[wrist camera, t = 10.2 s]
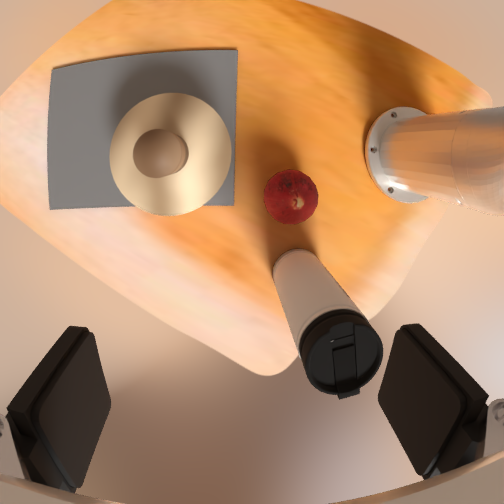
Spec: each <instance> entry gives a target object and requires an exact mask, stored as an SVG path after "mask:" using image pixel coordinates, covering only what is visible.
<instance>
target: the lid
mask: <svg viewBox="0 0 504 504" xmlns="http://www.w3.org/2000/svg"><path fill="white" fill-rule="evenodd" d="M109 158H110V168H111V172H112V175H113V178H114V181H115V183H116V185H117V187H118V188H119V190H120V191H121V193H122V194H123V195H124V196H125V198H126V199H127V200H128V201H130V202H131V203H132V204H133V205H135V206H136V207H138V208H139V209H141V210H143V211H145V212H148V213H151V214H155V215H161V216H175V215H181V214H185V213H188V212H191V211H193V210H195V209H197V208H199V207H201V206H202V205H204V204H205V203H207V202H208V201H209V200H210V199H211V198H212V197H213V196H214V195H215V194H216V193H217V192H218V190H219V189H220V187H221V186H222V184H223V182H224V180H225V179H226V176H227V174H228V171H229V167H230V163H231V141H230V136H229V133H228V130H227V128H226V126H225V124H224V122H223V120H222V119H221V117H220V116H219V114H218V113H217V112H216V111H215V110H214V109H213V108H212V107H211V106H209V105H208V104H207V103H205V102H204V101H202V100H200V99H198V98H196V97H194V96H191V95H187V94H182V93H164V94H159V95H155V96H152V97H149V98H147V99H145V100H143V101H141V102H140V103H138V104H137V105H135V106H134V107H133V108H132V109H131V110H129V111H128V112H127V113H126V115H125V116H124V117H123V118H122V120H121V121H120V123H119V124H118V126H117V128H116V130H115V132H114V135H113V138H112V141H111V146H110V156H109Z"/></svg>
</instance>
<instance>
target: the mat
mask: <svg viewBox="0 0 504 504" xmlns="http://www.w3.org/2000/svg"><path fill="white" fill-rule="evenodd" d="M237 61H238V50H196V51H175V52H161V53H150V54H140V55H131V56H123V57H116V58H110V59H103V60H97V61H92V62H86V63H81V64H76V65H71V66H67V67H62V68H58V69H54V70H52V74H51V83H50V95H49V110H48V138H47V162H48V190H49V206H50V210H54V209H74V208H98V207H129V206H135V205H133V204H132V203H131V202H130V201H128V200H127V199H126V198H125V196H124V195H123V194H122V193H121V191H120V190H119V188H118V187H117V185H116V183H115V181H114V178H113V175H112V172H111V168H110V158H109V156H110V146H111V141H112V138H113V135H114V132H115V130H116V128H117V126H118V124H119V123H120V121H121V120H122V118H123V117H124V116H125V115H126V113H127V112H128V111H129V110H131V109H132V108H133V107H134V106H135V105H137V104H138V103H140V102H141V101H143V100H145V99H147V98H149V97H152V96H155V95H159V94H164V93H182V94H187V95H191V96H194V97H196V98H198V99H200V100H202V101H204V102H205V103H207V104H208V105H209V106H211V107H212V108H213V109H214V110H215V111H216V112H217V113H218V114H219V116H220V117H221V119H222V120H223V122H224V124H225V126H226V128H227V130H228V133H229V136H230V141H231V163H230V167H229V171H228V174H227V176H226V179H225V180H224V182H223V184H222V186H221V187H220V189H219V190H218V192H217V193H216V194H215V195H214V196H213V197H212V198H211V199H210V200H209V201H208V202H207V203H205V204H204V205H221V206H234V173H235V127H236V91H237Z"/></svg>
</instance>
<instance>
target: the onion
mask: <svg viewBox="0 0 504 504" xmlns="http://www.w3.org/2000/svg"><path fill="white" fill-rule="evenodd" d="M264 203H265V205H266V208H267V211H268V212H269V213H270V215H271V216H272V217H273V218H274V219H275V220H277V221H279V222H281V223H284V224H297V223H300V222H303V221H305V220H306V219H307V218H309V217H310V216H311V215H312V214H313V212H314V211H315V209H316V207H317V204H318V192H317V189H316V185H315V184H314V183H313V181H312V180H311V178H310V177H309V176H307V175H305V174H304V173H302V172H300V171H296V170H289V169H288V170H285V171H282V172H278V173H277V174H275V175H274V176H273V177H272V178H271V179H270V180H269V181H268V183H267V185H266V188H265V190H264Z"/></svg>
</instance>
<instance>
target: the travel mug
mask: <svg viewBox="0 0 504 504" xmlns="http://www.w3.org/2000/svg"><path fill="white" fill-rule="evenodd" d="M272 274H273V280H274V283H275V286H276V289H277V292H278V295H279V298H280V301H281V304H282V307H283V309H284V312H285V315H286V318H287V321H288V324H289V327H290V330H291V333H292V336H293V339H294V342H295V345H296V347H297V350H298V353H299V356H300V358H301V360H302V362H303V366H304V368H305V371H306V375H307V377H308V379H309V381H310V383H311V384H312V385H313V386H314V387H315V388H316V389H318V390H319V391H321V392H324V393H327V394H332V395H338V398H339V399H343V398H347V397H350V396H354V395H357V394H359V393H360V388H361V387H362V386H364V385H365V384H367V383H368V382H369V381H370V380H371V379H372V378H373V377H374V375H375V374H376V372H377V371H378V369H379V367H380V365H381V362H382V358H383V345H382V341H381V339H380V337H379V335H378V334H377V333H376V331H375V330H374V329H373V328H372V326H371V325H370V324H369V322H368V320H367V319H366V317H365V316H364V315H363V314H362V312H361V311H360V310H359V309H358V307H357V306H356V305H355V304H354V302H353V301H352V300H351V299H350V297H349V296H348V295H347V294H346V292H345V291H344V290H343V289H342V287H341V286H340V285H339V284H338V282H337V281H336V280H335V279H334V278H333V276H332V275H331V274H330V273H329V271H328V270H327V269H326V268H325V267H324V265H323V264H322V263H321V262H320V261H319V259H318V258H317V257H316V256H315V255H314V254H313V253H312V252H310V251H308V250H305V249H292V250H289V251H287V252H285V253H284V254H282V255H281V256H280V257H279V258H278V259H277V261H276V263H275V264H274V267H273V273H272Z"/></svg>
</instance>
